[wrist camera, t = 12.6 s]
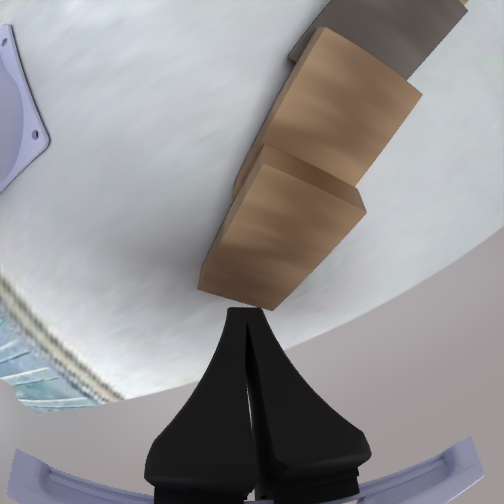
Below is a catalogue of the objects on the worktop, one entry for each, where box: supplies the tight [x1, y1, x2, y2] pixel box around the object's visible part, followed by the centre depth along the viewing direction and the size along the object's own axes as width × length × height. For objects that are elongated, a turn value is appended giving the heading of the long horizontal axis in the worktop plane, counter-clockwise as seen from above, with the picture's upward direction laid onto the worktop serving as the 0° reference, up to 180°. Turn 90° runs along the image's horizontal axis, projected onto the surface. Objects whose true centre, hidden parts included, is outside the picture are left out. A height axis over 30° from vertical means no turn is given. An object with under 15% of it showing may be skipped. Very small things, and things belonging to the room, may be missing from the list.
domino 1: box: [232, 27, 423, 199], centre depth 10 cm, size 4×2×8 cm
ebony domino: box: [288, 0, 468, 81], centre depth 7 cm, size 4×2×8 cm
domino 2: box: [197, 144, 367, 311], centre depth 13 cm, size 4×2×8 cm
